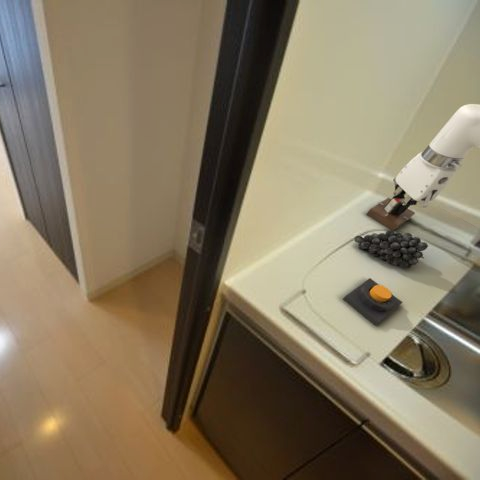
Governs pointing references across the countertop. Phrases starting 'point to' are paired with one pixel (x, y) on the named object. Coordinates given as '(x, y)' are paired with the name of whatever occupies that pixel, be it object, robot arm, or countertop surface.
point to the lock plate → (388, 215)
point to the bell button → (380, 293)
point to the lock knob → (393, 204)
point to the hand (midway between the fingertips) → (393, 210)
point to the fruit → (393, 247)
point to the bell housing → (370, 302)
